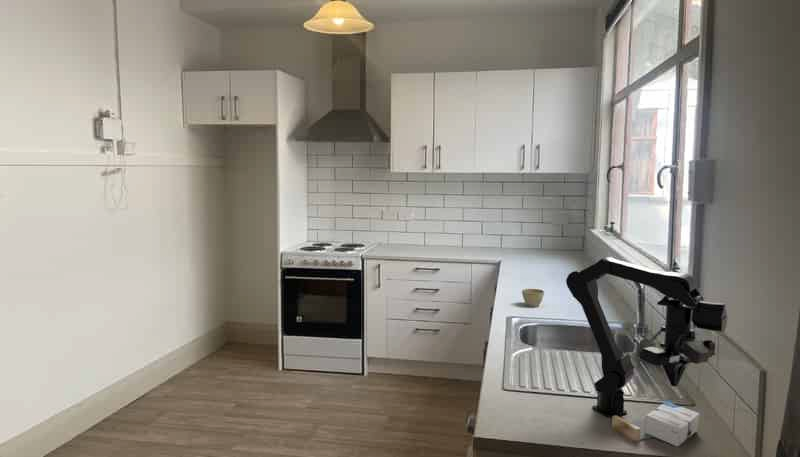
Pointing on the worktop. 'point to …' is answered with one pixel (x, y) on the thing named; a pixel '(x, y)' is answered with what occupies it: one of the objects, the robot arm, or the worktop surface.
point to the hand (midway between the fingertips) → (674, 386)
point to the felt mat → (642, 429)
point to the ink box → (671, 423)
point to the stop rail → (626, 428)
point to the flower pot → (532, 297)
